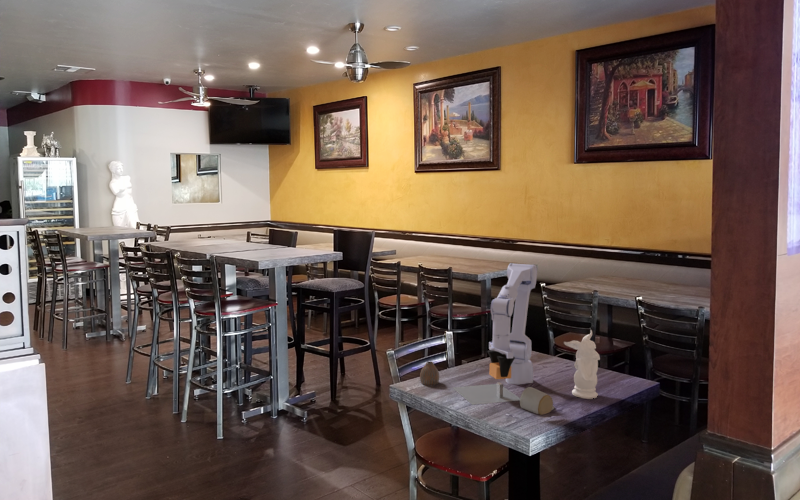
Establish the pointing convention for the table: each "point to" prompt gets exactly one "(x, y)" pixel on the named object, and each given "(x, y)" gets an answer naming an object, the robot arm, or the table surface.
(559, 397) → the table surface
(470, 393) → the board
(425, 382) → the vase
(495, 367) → the orange cubby crate
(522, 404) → the ceramic mug
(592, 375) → the cherub figurine
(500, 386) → the grey cubby insert
